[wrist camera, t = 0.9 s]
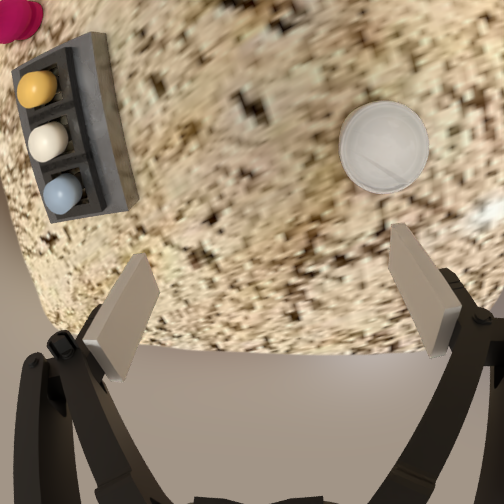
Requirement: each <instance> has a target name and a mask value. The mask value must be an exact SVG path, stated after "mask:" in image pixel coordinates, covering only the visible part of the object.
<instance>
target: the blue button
mask: <svg viewBox="0 0 504 504" xmlns="http://www.w3.org/2000/svg"><path fill="white" fill-rule="evenodd" d="M84 188H85V187H84V183H83V180H82V176H81V173H80V172H78V173H76V174H75V175H72V174H70V173H64V174H62V175H60V176H58V177H57V178H55V179H54V180H52V181H51V182H49V183H48V184H47V185H46V186H45V188H44V192H43V197H44V201H45V204H46V206H47V207H48V208H49V209H50V210H51V211H52V212H53V213H55V214H60V215H61V214H64V213H66V212H67V211H68V210H70V209H71V208H72V207H73V206H74V205H75V204H77V203H78V202H79V201H80V199H81V197H82V189H84Z"/></svg>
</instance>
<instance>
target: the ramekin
mask: <svg viewBox="0 0 504 504" xmlns="http://www.w3.org/2000/svg"><path fill="white" fill-rule="evenodd" d="M428 154H429V138H428V134H427V130H426V128H425V126H424V123H423V121H422V120H421V119H420V117H419V116H418V115H417V114H416V113H415V112H414V111H413V110H412V109H410V108H409V107H407V106H405V105H403V104H401V103H398V102H394V101H388V100H380V101H374V102H370V103H368V104H365V105H363V106H360V107H358V108H356V109H355V110H353V111H352V112H351V113H350V114H349V115H348V116H347V118H346V119H345V120H344V122H343V124H342V127H341V130H340V134H339V157H340V161H341V164H342V166H343V168H344V170H345V172H346V174H347V175H348V176H349V178H350V179H351V180H352V181H353V182H354V183H355V184H356V185H358V186H359V187H361V188H362V189H364V190H366V191H369V192H372V193H376V194H389V193H394V192H398V191H401V190H403V189H405V188H406V187H408V186H409V185H411V184H412V183H413V182H414V181H415V180H416V179H417V178H418V177H419V175H420V174H421V172H422V171H423V169H424V167H425V165H426V162H427V159H428Z"/></svg>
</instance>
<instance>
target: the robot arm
mask: <svg viewBox="0 0 504 504" xmlns="http://www.w3.org/2000/svg"><path fill="white" fill-rule="evenodd" d="M388 269H389V271H390V273H391V275H392V277H393V279H394V281H395V283H396V285H397V287H398V289H399V291H400V293H401V295H402V297H403V299H404V302H405V304H406V306H407V308H408V310H409V312H410V315H411V317H412V319H413V321H414V323H415V326H416V328H417V330H418V332H419V335H420V337H421V339H422V342H423V344H424V346H425V349H426V351H427V353H428V356H429V358H430V359H431V358H435V357H440V356H444V355H445V354H446V352H447V349H448V346H449V347H450V349H451V351H452V354H451V357H450V359H449V362H448V364H447V367H446V369H445V371H444V373H443V376H442V378H441V380H440V382H439V384H438V387H437V389H436V391H435V393H434V395H433V397H432V400H431V401H430V403H429V405H428V407H427V409H426V411H425V413H424V415H423V417H422V419H421V421H420V423H419V424H418V426H417V428H416V430H415V432H414V434H413V435H412V437H411V439H410V441H409V442H408V444H407V446H406V447H405V449H404V451H403V452H402V454H401V456H400V457H399V459H398V461H397V462H396V464H395V465H394V467H393V468H392V470H391V471H390V473H389V474H388V476H387V477H386V479H385V480H384V482H383V483H382V485H381V486H380V487H379V489H378V490H377V492H376V493H375V494H374V496H373V497H372V499H371V500H370V501H369V503H368V504H426V503H427V501H428V500H429V498H430V496H431V494H432V492H433V491H434V488H435V482H436V480H437V478H438V476H439V474H440V472H441V470H442V468H443V466H444V464H445V462H446V460H447V458H448V456H449V454H450V452H451V450H452V448H453V446H454V444H455V441H456V439H457V437H458V435H459V432H460V430H461V427H462V425H463V423H464V420H465V418H466V415H467V413H468V410H469V408H470V405H471V402H472V400H473V397H474V394H475V391H476V388H477V385H478V382H479V379H480V376H481V373H482V370H483V366H490V397H489V412H488V423H487V433H486V441H485V449H484V455H483V461H482V468H481V473H480V478H479V483H478V488H477V492H476V496H475V501H474V504H504V318H494V316H493V315H492V313H491V312H490V311H489V310H487V309H485V308H481V307H478V306H477V305H476V303H475V302H474V300H473V299H472V297H471V296H470V294H469V293H468V291H467V290H466V288H464V286H463V284H462V283H461V282H460V280H459V278H458V277H457V276H456V274H455V273H453V272H452V271H451V270H449V269H448V268H442V269H438V268H437V267H436V265H435V264H434V262H433V261H432V259H431V258H430V257H429V255H428V254H427V252H426V251H425V250H424V248H423V247H422V245H421V244H420V243H419V241H418V240H417V239H416V237H415V236H414V235H413V233H412V232H411V231H410V229H409V228H408V227H407V225H406V224H405V223H398V224H391V238H390V253H389V266H388ZM159 294H160V291H159V288H158V286H157V283H156V280H155V278H154V275H153V273H152V270H151V267H150V265H149V262H148V259H147V256H146V254H145V253H140V254H133V255H132V257H131V259H130V260H129V262H128V263H127V265H126V266H125V268H124V270H123V271H122V273H121V274H120V276H119V278H118V279H117V281H116V282H115V284H114V286H113V287H112V289H111V291H110V292H109V294H108V296H107V297H106V299H105V301H104V302H103V304H99V305H98V306H97V307H96V308H95V309H94V310H93V311H92V312H91V314H90V315H89V317H88V320H86V322H85V324H84V326H83V327H82V329H81V331H80V332H79V334H78V336H77V338H76V340H74V338H73V336H72V335H71V333H70V332H69V331H67V330H61V331H59V332H56V333H55V334H54V335H52V336H51V337H50V339H49V340H48V342H47V348H48V349H49V351H50V352H51V354H52V355H53V356H54V358H50V359H45V357H44V356H43V355H42V353H39V352H37V353H33V354H31V355H30V356H28V357H27V358H26V360H25V361H24V364H23V367H22V373H21V380H20V387H19V394H18V402H17V412H16V423H15V436H14V464H13V465H14V466H13V470H14V471H13V475H14V477H13V478H14V504H81V499H80V493H79V487H78V479H77V471H76V464H75V453H74V441H73V426H72V420H73V423H74V426H75V429H76V432H77V435H78V438H79V441H80V443H81V446H82V448H83V451H84V454H85V457H86V459H87V462H88V464H89V466H90V469H91V471H92V474H93V476H94V478H95V481H96V483H97V486H98V488H97V489H95V495H96V499H97V501H98V503H99V504H173V503H172V502H171V500H169V498H168V497H167V496H166V495H165V493H164V492H163V491H162V489H161V487H160V486H159V485H158V483H157V481H156V480H155V478H154V476H153V475H152V473H151V471H150V470H149V468H148V466H147V465H146V463H145V461H144V460H143V458H142V456H141V454H140V453H139V451H138V449H137V447H136V446H135V444H134V442H133V440H132V438H131V436H130V434H129V432H128V430H127V429H126V427H125V425H124V423H123V421H122V419H121V417H120V415H119V413H118V410H117V408H116V406H115V404H114V402H113V400H112V398H111V396H110V394H109V391H108V389H107V387H106V385H105V383H104V382H103V380H102V378H103V376H104V374H106V376H107V377H108V379H109V380H110V381H113V382H124V381H125V379H126V376H127V373H128V371H129V368H130V366H131V363H132V360H133V358H134V355H135V353H136V350H137V348H138V345H139V343H140V340H141V338H142V335H143V333H144V330H145V328H146V325H147V323H148V320H149V318H150V316H151V313H152V311H153V308H154V306H155V304H156V301H157V299H158V297H159ZM189 504H242V503H239V502H235V501H231V500H227V499H221V498H206V497H194V502H193V503H189ZM272 504H337V503H332V502H327V501H323V496H318V497H317V496H316V497H305V498H291V499H287V500H284V501H279V502H276V503H272Z"/></svg>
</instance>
